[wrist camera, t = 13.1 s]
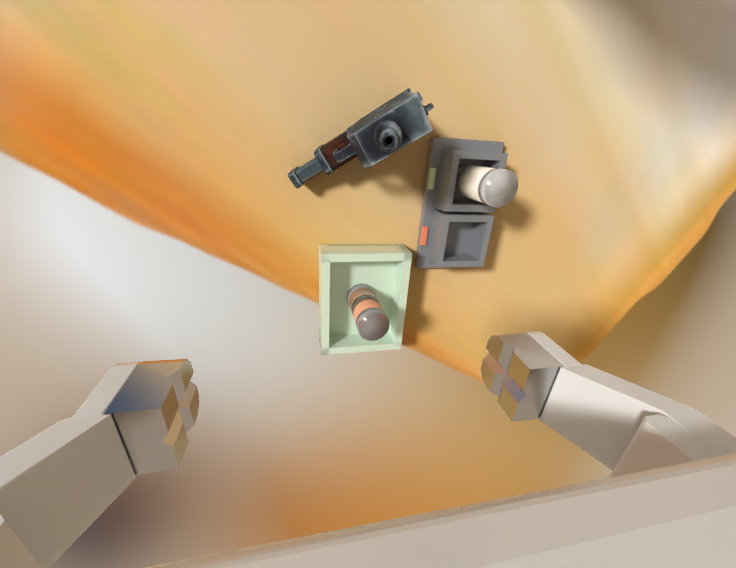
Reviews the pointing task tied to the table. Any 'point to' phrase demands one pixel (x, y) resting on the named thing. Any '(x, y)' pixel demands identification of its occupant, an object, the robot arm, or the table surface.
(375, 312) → the fuse
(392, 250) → the tray
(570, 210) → the table surface
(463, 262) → the block
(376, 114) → the gun
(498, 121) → the table surface
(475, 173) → the ball
